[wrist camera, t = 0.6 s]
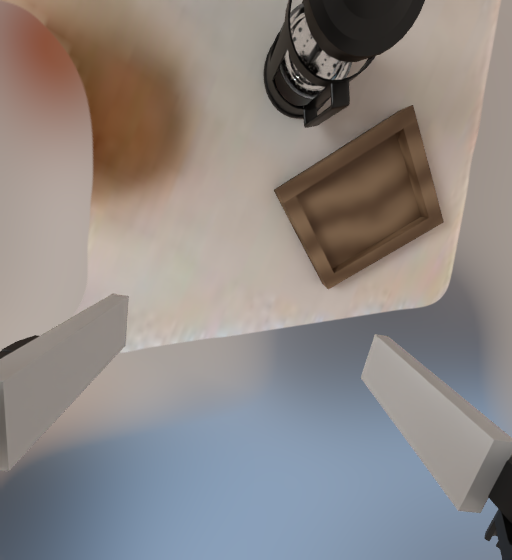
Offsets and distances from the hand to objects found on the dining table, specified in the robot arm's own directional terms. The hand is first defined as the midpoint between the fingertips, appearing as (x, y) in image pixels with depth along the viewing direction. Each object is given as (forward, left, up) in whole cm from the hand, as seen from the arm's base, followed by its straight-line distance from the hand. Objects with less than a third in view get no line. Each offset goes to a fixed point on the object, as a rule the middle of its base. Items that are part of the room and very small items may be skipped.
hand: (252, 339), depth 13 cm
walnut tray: (+6, +20, -28) cm, 34 cm away
